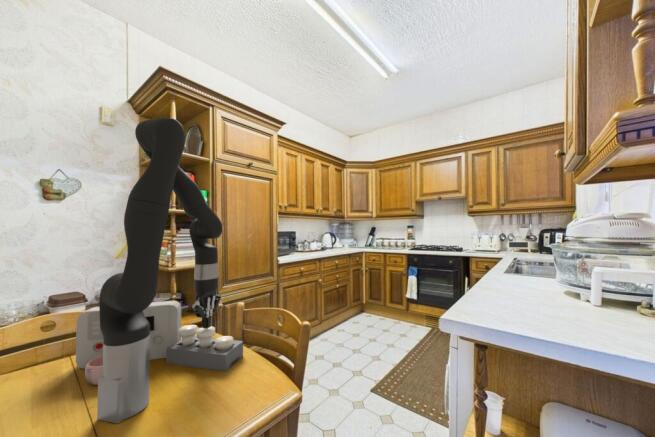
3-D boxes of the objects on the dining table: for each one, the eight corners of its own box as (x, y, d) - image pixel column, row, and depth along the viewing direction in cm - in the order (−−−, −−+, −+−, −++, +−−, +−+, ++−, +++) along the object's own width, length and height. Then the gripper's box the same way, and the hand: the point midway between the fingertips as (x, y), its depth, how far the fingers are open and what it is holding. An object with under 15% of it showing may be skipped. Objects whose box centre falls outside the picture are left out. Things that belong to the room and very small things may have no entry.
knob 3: (226, 362, 83) (226, 343, 83) (211, 361, 84) (211, 342, 85) (236, 354, 89) (236, 336, 89) (221, 352, 90) (221, 335, 90)
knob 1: (189, 350, 86) (189, 331, 87) (174, 348, 88) (175, 330, 88) (200, 342, 92) (201, 325, 92) (187, 341, 93) (187, 324, 93)
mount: (225, 371, 81) (225, 355, 81) (166, 363, 86) (166, 347, 86) (243, 355, 90) (243, 341, 91) (188, 349, 95) (189, 335, 96)
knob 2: (207, 352, 85) (207, 333, 85) (192, 350, 86) (192, 332, 86) (218, 344, 90) (218, 327, 90) (204, 343, 92) (204, 325, 92)
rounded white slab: (70, 374, 80) (71, 314, 80) (85, 361, 87) (86, 307, 88) (175, 359, 88) (176, 305, 89) (180, 349, 96) (181, 299, 96)
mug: (103, 391, 71) (103, 369, 72) (75, 387, 73) (75, 365, 73) (142, 368, 83) (143, 349, 83) (117, 364, 85) (117, 346, 85)
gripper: (202, 281, 82) (202, 337, 81) (227, 273, 94) (228, 321, 94) (182, 280, 83) (182, 335, 83) (209, 272, 96) (209, 319, 96)
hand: (206, 327), depth 89 cm, fingers closed
